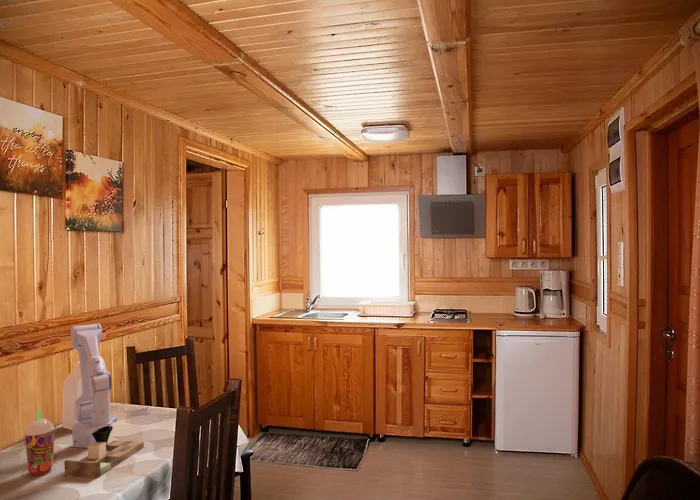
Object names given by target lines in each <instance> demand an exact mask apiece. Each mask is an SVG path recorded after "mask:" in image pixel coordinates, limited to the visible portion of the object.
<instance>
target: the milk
mask: <svg viewBox="0 0 700 500" xmlns="http://www.w3.org/2000/svg"><path fill="white" fill-rule="evenodd" d="M81 395H82V383H81V372H80V360H79V361H76V363H75V367H74V369H73V370H72V371H71V372H70V373H69V374H68V375H67V377H65V379H64V380H63V382H62V410H61V412H62V414H61V416H62V419H61V427H62V428H63V429H67V430H71V431H72V428H73V425H74V423H75V422H76V419H75V412H74V409H75V401H76V399H77V398H79V397H80V396H81ZM87 402H92V400H91V401H86V402H82V403H87ZM82 403H81V404H82Z"/></svg>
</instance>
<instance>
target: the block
mask: <svg viewBox="0 0 700 500" xmlns="http://www.w3.org/2000/svg"><path fill="white" fill-rule="evenodd" d="M105 454H106V442H94V443H93V444H91V445H89V446H88V448H87V456H88V459H100V458H101V457H103V456H104V455H105Z"/></svg>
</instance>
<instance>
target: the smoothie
mask: <svg viewBox="0 0 700 500" xmlns="http://www.w3.org/2000/svg"><path fill="white" fill-rule="evenodd" d="M55 428H56V427H55V426H54V424H53V423H52V422H51V420H49V419H47V418H45V417H41V410H40V409H39V410H37V419H34V420H32V421H31V422H30V423H29V424H28V425H27V428H26V430H25V431H24V432H23V433H24V439H25V440H24V441H25V450H26V459H27V460H26V461H27V469H28V472H29V473H30V474H29V475H31V476H35V477H36V476H37V477H38V476H43V475H45V474H48V473H50V472H51V470H52V467H54V454H55V452H54V449H55V447H54V446H55Z"/></svg>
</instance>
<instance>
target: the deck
mask: <svg viewBox="0 0 700 500" xmlns="http://www.w3.org/2000/svg"><path fill="white" fill-rule="evenodd" d="M143 448H145V444H144V441H138V440H137V441H135V440H112V441H111V442H109V443H107V447H106V454H105V455H104V456H103V457H101V458H100V459H88V455H87V456H85V457H83V458H82V459H80V460H74V459H73V460H72V459H69V460H68V459H67V460H65V461H64V462H63V463H64V464H63V465H64V476H65V475H72V476H71V477H81V476H85V477H84V478H100V477H101V476H103V475H104V474H107V472H109V471H110V470H112V469H113V468H115V467H116V466H118V465H120V464H121V463H122V462H124V461H125V460H127V459H129V458H130V457H131V456H133V455H135V454H137V452H139V451H141V450H142V449H143Z"/></svg>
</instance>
